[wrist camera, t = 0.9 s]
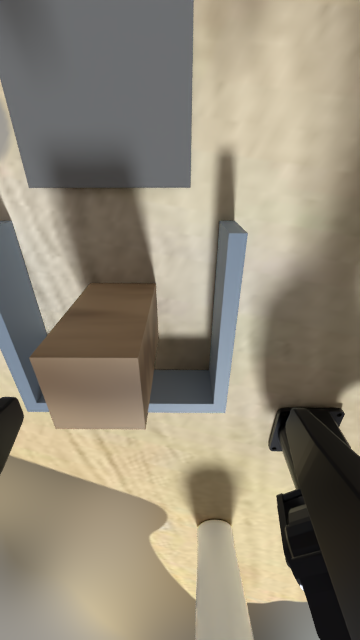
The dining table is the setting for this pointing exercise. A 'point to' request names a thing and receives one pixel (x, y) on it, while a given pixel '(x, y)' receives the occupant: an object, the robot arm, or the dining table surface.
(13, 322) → the open-front box
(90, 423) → the walnut block
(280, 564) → the dining table surface
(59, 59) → the charcoal mat
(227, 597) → the drinking glass
